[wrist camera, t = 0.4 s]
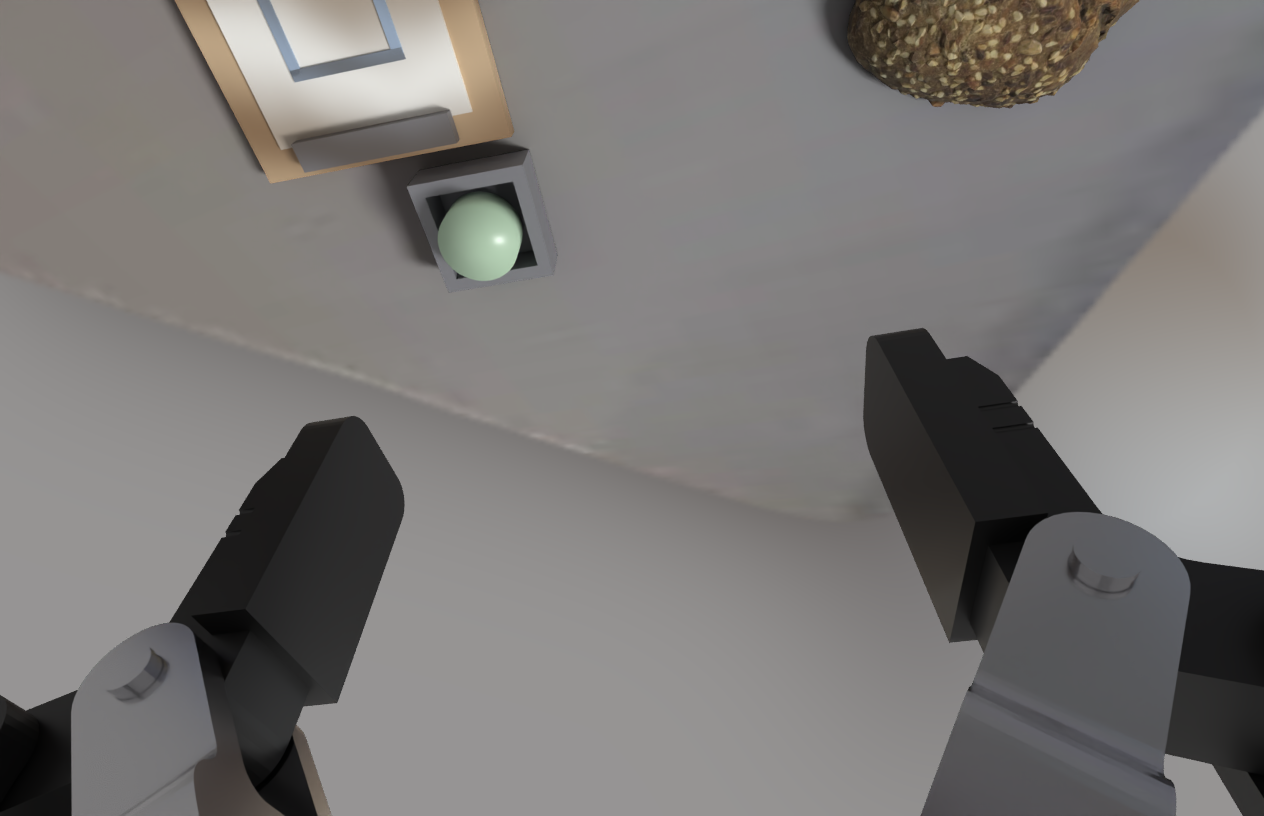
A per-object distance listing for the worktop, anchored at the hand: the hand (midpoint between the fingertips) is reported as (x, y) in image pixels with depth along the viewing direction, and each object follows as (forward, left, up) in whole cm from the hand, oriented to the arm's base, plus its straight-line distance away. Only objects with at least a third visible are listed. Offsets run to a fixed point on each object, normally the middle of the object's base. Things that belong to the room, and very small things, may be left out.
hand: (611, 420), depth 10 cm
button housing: (+6, -9, -27) cm, 29 cm away
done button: (+6, -9, -25) cm, 27 cm away
